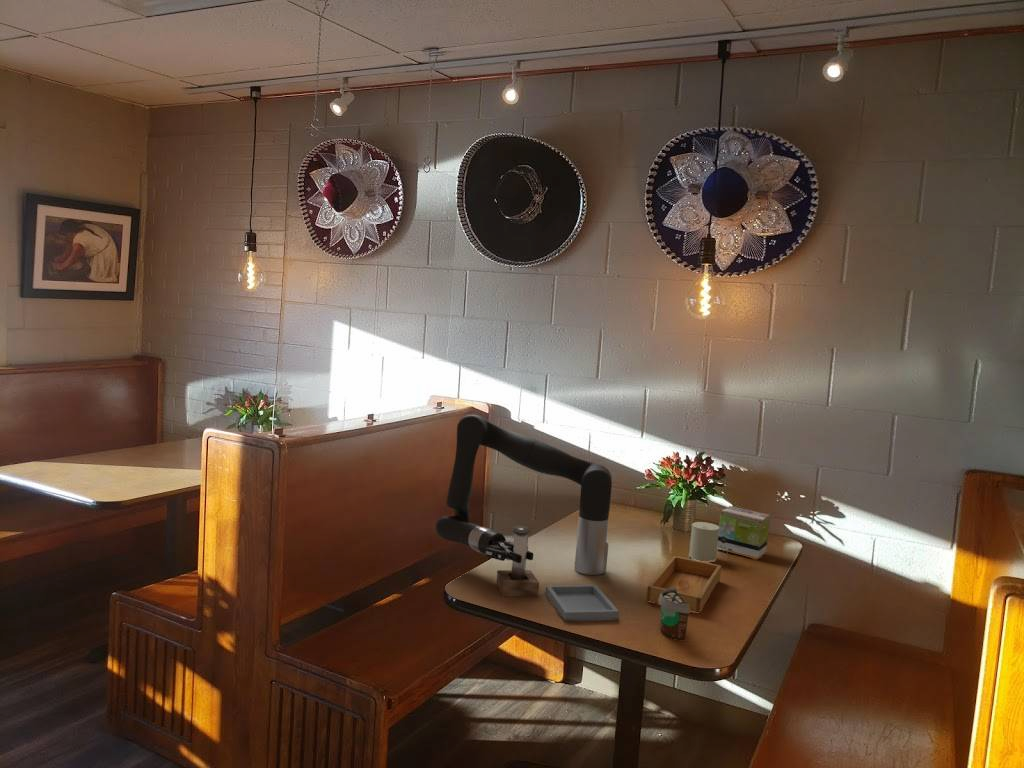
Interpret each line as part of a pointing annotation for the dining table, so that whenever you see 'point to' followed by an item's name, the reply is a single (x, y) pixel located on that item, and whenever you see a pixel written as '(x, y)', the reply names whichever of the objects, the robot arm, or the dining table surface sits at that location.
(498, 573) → the socket block
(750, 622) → the dining table surface
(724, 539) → the tea box
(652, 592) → the tray
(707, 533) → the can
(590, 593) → the pin tray
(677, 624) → the food container
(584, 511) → the robot arm
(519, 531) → the steel pin
